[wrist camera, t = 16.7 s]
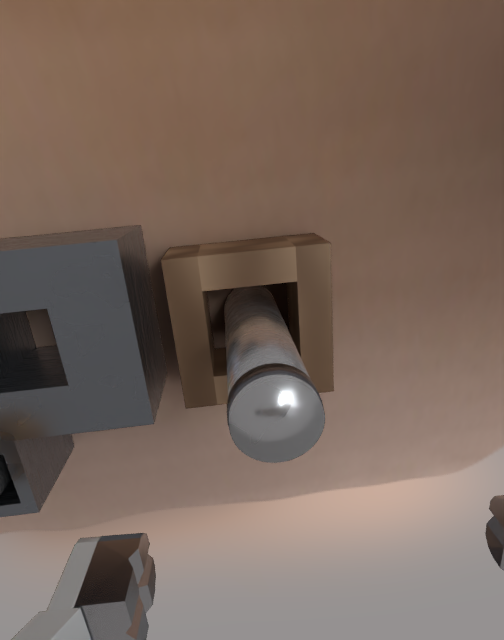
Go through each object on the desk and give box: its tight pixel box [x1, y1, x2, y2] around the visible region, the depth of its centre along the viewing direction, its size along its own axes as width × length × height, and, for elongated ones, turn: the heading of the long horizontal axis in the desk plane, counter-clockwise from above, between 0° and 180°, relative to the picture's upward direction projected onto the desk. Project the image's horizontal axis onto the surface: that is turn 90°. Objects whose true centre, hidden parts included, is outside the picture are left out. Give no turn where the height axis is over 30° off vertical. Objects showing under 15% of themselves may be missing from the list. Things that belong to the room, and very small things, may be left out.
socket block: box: [0, 225, 167, 517], centre depth 23 cm, size 12×15×6 cm
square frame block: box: [161, 233, 334, 408], centre depth 24 cm, size 9×9×4 cm
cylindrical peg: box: [224, 285, 325, 463], centre depth 20 cm, size 4×4×13 cm
